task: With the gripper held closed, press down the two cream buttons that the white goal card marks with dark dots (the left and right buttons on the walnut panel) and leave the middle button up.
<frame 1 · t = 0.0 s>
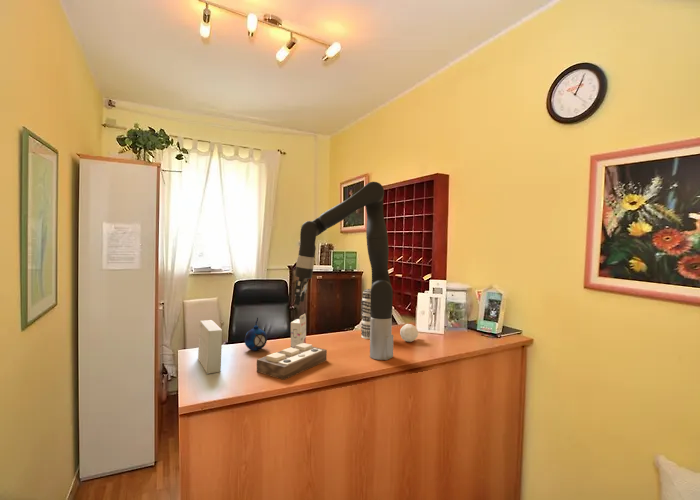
hand: (299, 302, 151), 22 cm above the table, fingers open, 8 cm apart
button left: (276, 359, 130), point 4 cm above the table, slide at 0.0 cm
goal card: (301, 367, 134), resting on button panel
button panel: (293, 365, 136), on the table
button right: (303, 348, 144), point 4 cm above the table, slide at 0.0 cm
button middle: (290, 353, 137), point 4 cm above the table, slide at 0.0 cm
white rounded piece: (411, 341, 174), on the table
bomb: (256, 350, 155), on the table
decorative candle: (369, 337, 181), on the table
ink cartridge box: (298, 345, 164), on the table
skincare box: (209, 365, 136), on the table
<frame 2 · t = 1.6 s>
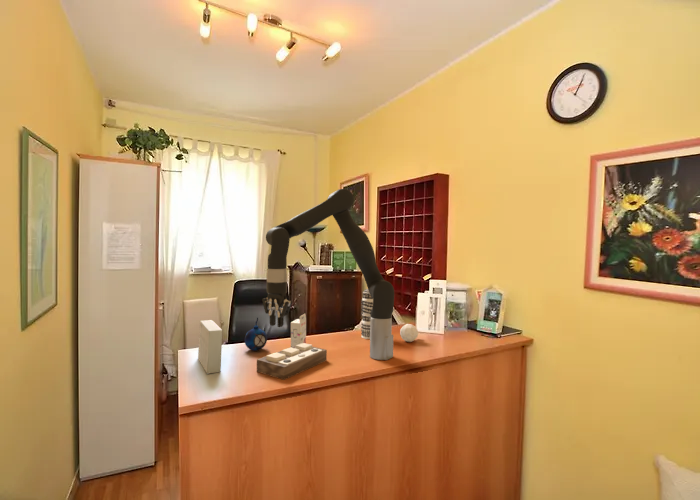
hand: (276, 325, 130), 17 cm above the table, fingers open, 3 cm apart
nothing on the table moved.
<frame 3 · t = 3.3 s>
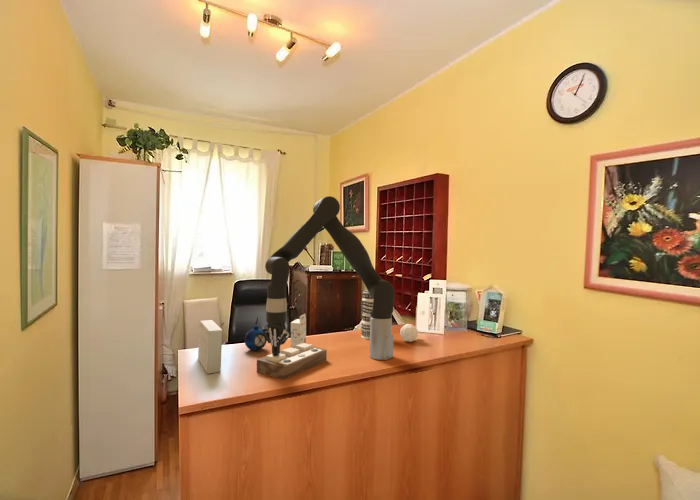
hand: (275, 355, 130), 6 cm above the table, fingers closed
button left: (276, 359, 130), point 4 cm above the table, slide at 0.0 cm, touching gripper
everything else where it was.
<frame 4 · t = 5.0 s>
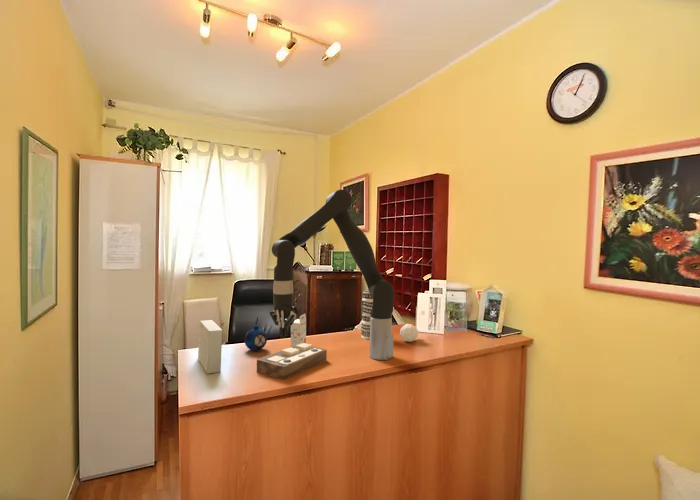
hand: (283, 336, 132), 12 cm above the table, fingers closed
button left: (276, 362, 130), point 3 cm above the table, slide at 1.3 cm
everything else where it was.
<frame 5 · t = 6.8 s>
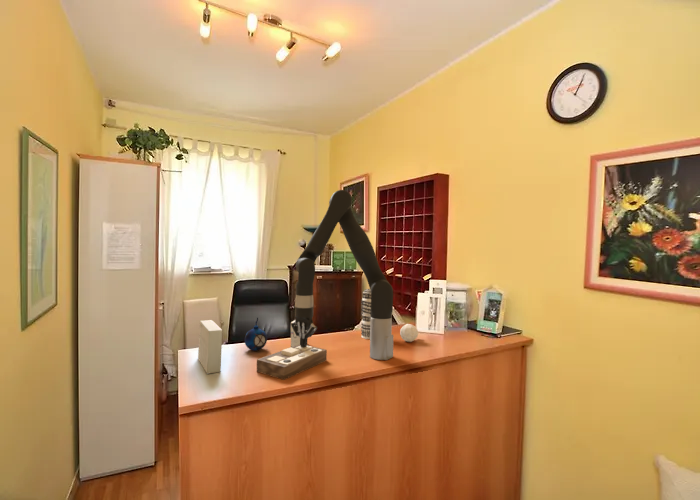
hand: (303, 346, 144), 5 cm above the table, fingers closed
button right: (303, 350, 144), point 4 cm above the table, slide at 0.7 cm, touching gripper
everything else where it was.
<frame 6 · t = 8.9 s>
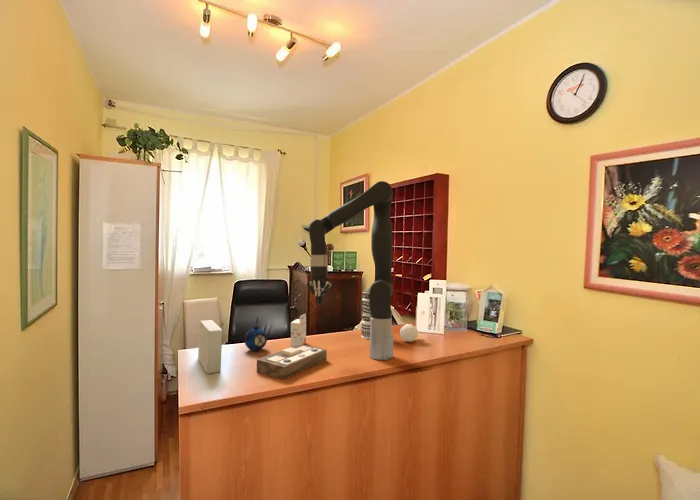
hand: (319, 304, 152), 22 cm above the table, fingers closed
button right: (303, 351, 144), point 3 cm above the table, slide at 1.3 cm
everything else where it was.
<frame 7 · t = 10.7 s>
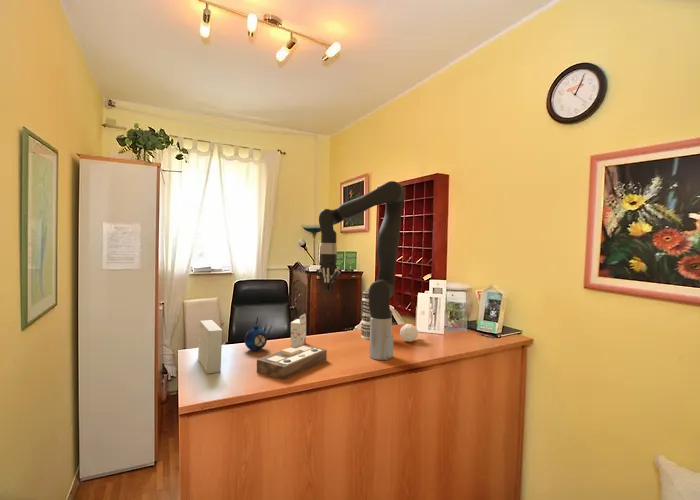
hand: (328, 290, 158), 27 cm above the table, fingers closed
nothing on the table moved.
at the end: button left slide at 1.3 cm; button right slide at 1.3 cm; button middle slide at 0.0 cm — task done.
